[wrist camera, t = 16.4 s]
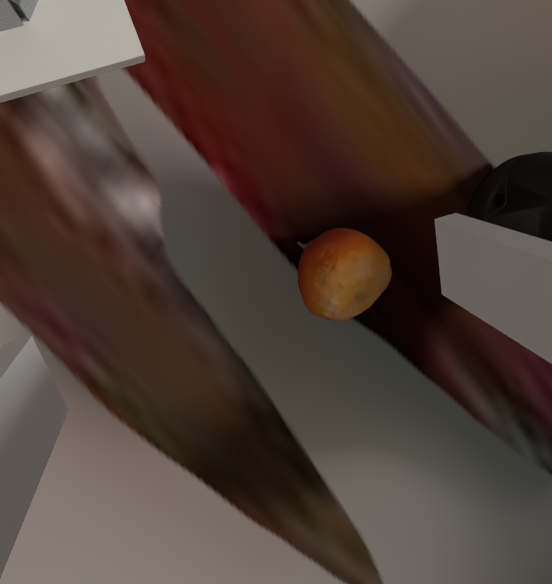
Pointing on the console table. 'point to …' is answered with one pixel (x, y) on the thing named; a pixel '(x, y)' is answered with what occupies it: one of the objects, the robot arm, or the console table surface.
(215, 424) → the console table surface
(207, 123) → the console table surface
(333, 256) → the fruit
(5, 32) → the board
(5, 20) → the collar
